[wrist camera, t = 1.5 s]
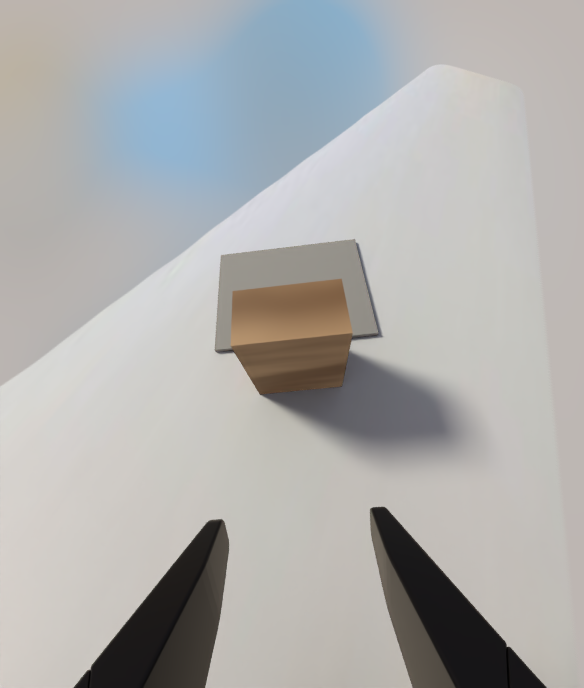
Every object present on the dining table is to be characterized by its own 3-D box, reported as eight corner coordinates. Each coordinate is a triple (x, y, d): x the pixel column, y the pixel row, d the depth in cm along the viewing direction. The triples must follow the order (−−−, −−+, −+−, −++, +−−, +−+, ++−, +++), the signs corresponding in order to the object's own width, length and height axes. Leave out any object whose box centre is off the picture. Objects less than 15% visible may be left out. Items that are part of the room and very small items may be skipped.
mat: (377, 335, 26) (378, 332, 25) (216, 351, 26) (214, 350, 26) (354, 242, 31) (354, 239, 31) (221, 257, 32) (220, 255, 32)
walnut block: (341, 386, 24) (352, 333, 16) (259, 394, 24) (230, 345, 16) (335, 344, 26) (341, 278, 18) (259, 352, 26) (232, 291, 18)
